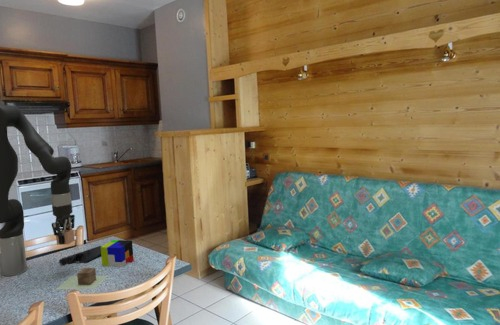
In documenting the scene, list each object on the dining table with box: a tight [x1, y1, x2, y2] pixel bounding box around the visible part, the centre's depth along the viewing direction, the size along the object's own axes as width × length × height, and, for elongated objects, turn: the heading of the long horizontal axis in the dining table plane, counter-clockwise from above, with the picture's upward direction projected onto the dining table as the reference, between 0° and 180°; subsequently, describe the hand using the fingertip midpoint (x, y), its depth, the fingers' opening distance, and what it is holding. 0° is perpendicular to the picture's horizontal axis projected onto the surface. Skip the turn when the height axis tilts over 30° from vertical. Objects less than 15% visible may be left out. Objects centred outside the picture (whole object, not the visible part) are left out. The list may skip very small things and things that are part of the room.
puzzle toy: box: [100, 239, 135, 267], centre depth 166 cm, size 10×10×10 cm
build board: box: [55, 275, 108, 291], centre depth 146 cm, size 16×12×1 cm
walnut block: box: [76, 267, 97, 285], centre depth 146 cm, size 5×5×5 cm
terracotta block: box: [55, 229, 76, 246], centre depth 154 cm, size 5×5×5 cm
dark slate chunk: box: [58, 245, 103, 266], centre depth 176 cm, size 15×22×5 cm
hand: (65, 241), depth 154 cm, fingers closed on terracotta block, 5 cm apart
